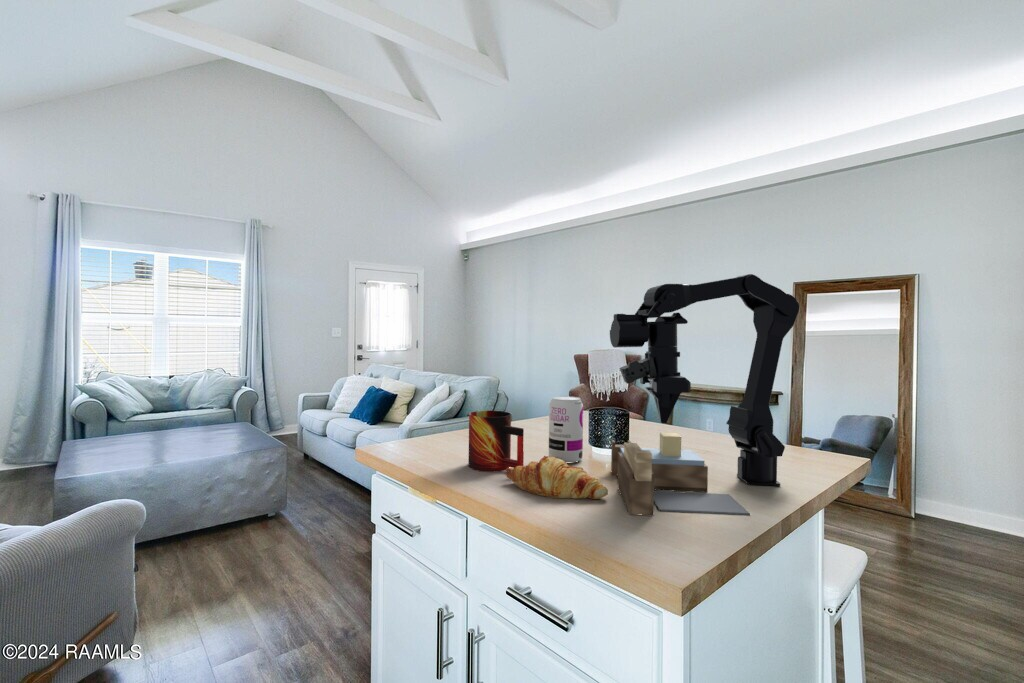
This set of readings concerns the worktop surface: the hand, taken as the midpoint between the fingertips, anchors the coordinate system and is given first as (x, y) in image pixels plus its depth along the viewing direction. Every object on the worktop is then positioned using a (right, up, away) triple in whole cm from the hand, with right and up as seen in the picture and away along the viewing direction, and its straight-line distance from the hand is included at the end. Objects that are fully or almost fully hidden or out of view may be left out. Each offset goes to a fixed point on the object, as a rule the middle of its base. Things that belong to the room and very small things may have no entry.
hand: (663, 423), depth 98 cm
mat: (+2, -13, -11) cm, 17 cm away
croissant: (-23, -13, -6) cm, 27 cm away
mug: (-34, -12, +11) cm, 38 cm away
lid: (-1, -7, +1) cm, 7 cm away
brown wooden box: (-2, -12, -5) cm, 13 cm away
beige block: (-9, -6, -12) cm, 16 cm away
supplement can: (-18, -12, +18) cm, 29 cm away
